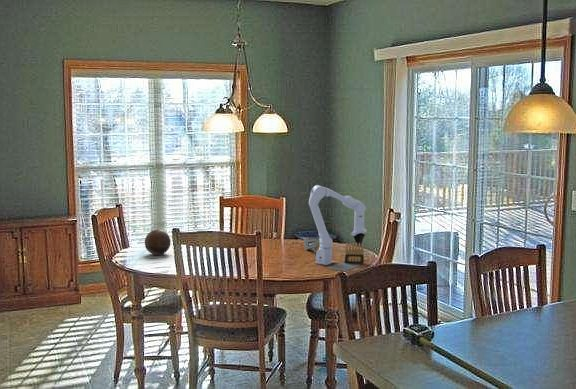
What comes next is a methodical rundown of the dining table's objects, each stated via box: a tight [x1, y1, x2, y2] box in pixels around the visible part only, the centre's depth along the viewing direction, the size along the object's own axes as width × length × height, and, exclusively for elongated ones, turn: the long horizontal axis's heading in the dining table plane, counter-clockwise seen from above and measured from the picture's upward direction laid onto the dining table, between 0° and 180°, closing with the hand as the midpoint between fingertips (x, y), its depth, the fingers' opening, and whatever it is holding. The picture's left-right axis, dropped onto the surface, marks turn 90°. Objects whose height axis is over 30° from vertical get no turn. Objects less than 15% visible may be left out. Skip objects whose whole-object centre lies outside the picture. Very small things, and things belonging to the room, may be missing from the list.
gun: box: [303, 238, 320, 253], centre depth 403 cm, size 3×25×15 cm, turn 19°
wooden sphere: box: [144, 229, 171, 256], centre depth 392 cm, size 15×15×15 cm
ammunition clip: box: [343, 241, 365, 265], centre depth 373 cm, size 11×2×12 cm, turn 95°
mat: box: [326, 262, 361, 272], centre depth 364 cm, size 17×12×1 cm
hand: (358, 246), depth 377 cm, fingers closed
